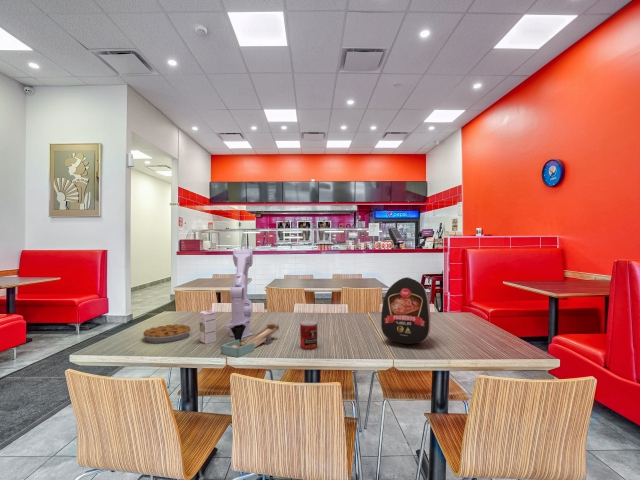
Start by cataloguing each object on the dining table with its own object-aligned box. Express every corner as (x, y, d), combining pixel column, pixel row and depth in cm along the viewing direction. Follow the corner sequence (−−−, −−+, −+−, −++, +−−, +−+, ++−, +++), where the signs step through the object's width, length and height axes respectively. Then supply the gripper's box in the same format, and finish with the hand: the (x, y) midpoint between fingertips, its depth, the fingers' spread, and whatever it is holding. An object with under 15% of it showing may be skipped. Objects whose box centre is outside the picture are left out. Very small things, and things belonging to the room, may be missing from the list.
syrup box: (216, 341, 154) (216, 311, 155) (204, 344, 150) (204, 313, 150) (210, 339, 158) (210, 309, 158) (199, 341, 154) (198, 311, 154)
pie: (149, 347, 147) (149, 336, 147) (138, 337, 163) (138, 327, 163) (197, 338, 161) (197, 328, 161) (182, 329, 178) (182, 320, 178)
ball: (234, 349, 139) (229, 354, 136) (232, 342, 138) (226, 348, 135) (240, 350, 137) (235, 356, 135) (238, 344, 136) (232, 349, 134)
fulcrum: (252, 342, 153) (252, 334, 153) (258, 339, 156) (258, 332, 156) (267, 344, 148) (267, 337, 148) (272, 342, 151) (272, 335, 151)
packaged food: (379, 346, 144) (378, 279, 145) (385, 334, 163) (384, 275, 163) (430, 351, 137) (429, 280, 137) (431, 338, 155) (430, 276, 156)
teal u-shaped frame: (221, 353, 137) (221, 345, 137) (238, 347, 145) (238, 339, 145) (237, 357, 132) (237, 348, 132) (254, 350, 140) (254, 342, 140)
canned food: (304, 350, 139) (304, 325, 139) (297, 345, 146) (297, 321, 146) (320, 348, 143) (320, 323, 143) (312, 343, 150) (312, 319, 150)
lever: (232, 343, 150) (231, 337, 150) (257, 326, 165) (256, 321, 165) (254, 347, 143) (253, 342, 143) (279, 329, 158) (278, 324, 158)
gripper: (232, 316, 141) (232, 347, 141) (255, 310, 154) (255, 338, 154) (221, 314, 145) (221, 344, 145) (244, 308, 157) (244, 336, 157)
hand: (238, 341), depth 149 cm, fingers closed
